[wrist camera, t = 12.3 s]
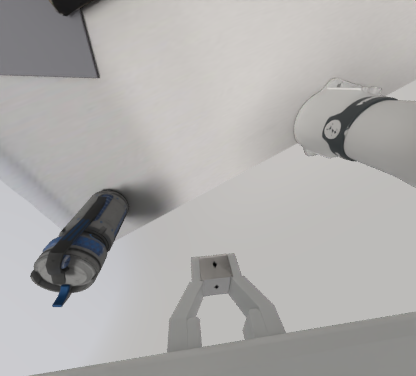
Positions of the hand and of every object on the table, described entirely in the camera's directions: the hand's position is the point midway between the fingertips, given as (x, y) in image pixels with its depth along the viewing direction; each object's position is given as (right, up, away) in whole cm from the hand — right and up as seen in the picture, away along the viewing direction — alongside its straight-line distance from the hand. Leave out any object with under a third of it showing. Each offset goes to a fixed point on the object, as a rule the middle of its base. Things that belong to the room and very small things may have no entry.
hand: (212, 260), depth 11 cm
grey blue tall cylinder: (-29, +1, +36) cm, 46 cm away
